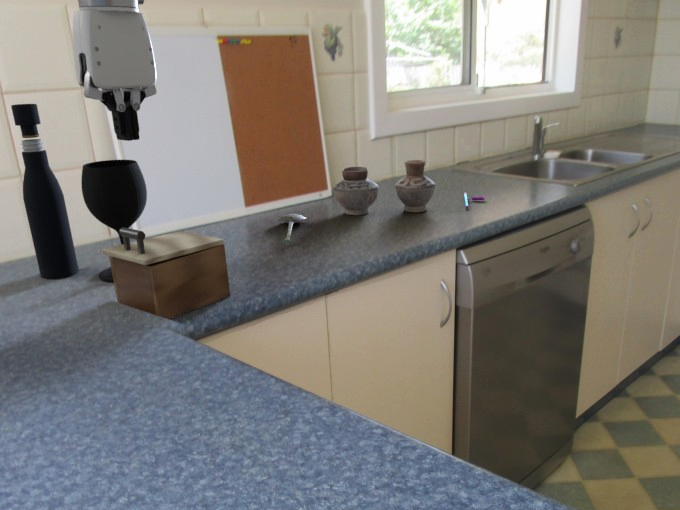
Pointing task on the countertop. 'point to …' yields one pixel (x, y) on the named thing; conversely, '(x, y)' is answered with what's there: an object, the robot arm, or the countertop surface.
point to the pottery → (363, 192)
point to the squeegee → (472, 199)
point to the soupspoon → (290, 225)
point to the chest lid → (159, 246)
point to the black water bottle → (44, 202)
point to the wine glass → (114, 195)
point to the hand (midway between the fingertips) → (128, 139)
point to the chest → (172, 282)
